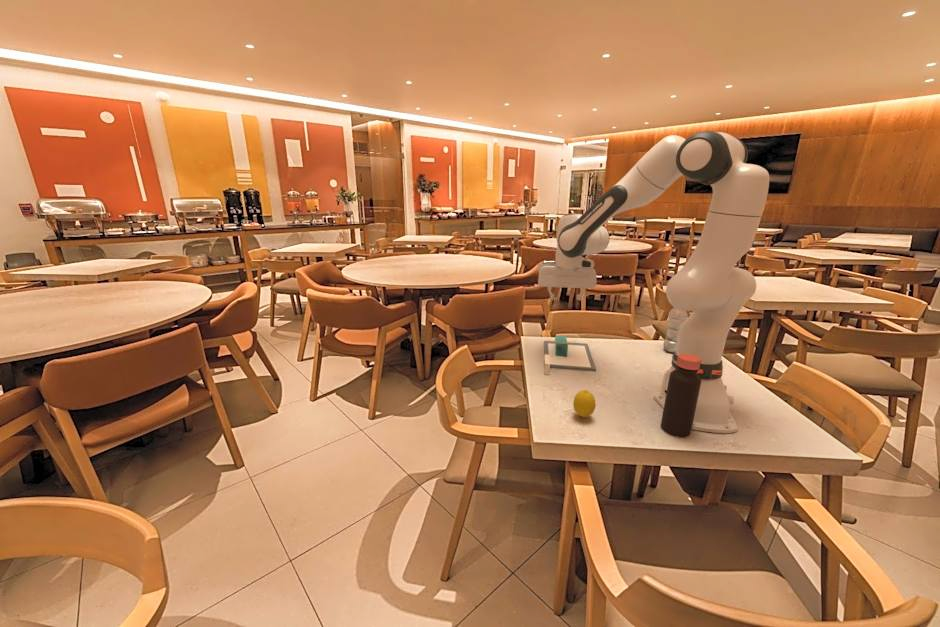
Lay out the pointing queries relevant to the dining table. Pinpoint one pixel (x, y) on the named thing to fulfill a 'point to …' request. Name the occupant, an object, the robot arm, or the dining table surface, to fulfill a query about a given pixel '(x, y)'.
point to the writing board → (570, 357)
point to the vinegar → (682, 396)
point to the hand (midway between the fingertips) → (565, 299)
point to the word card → (546, 364)
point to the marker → (561, 346)
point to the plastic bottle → (674, 328)
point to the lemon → (584, 403)
